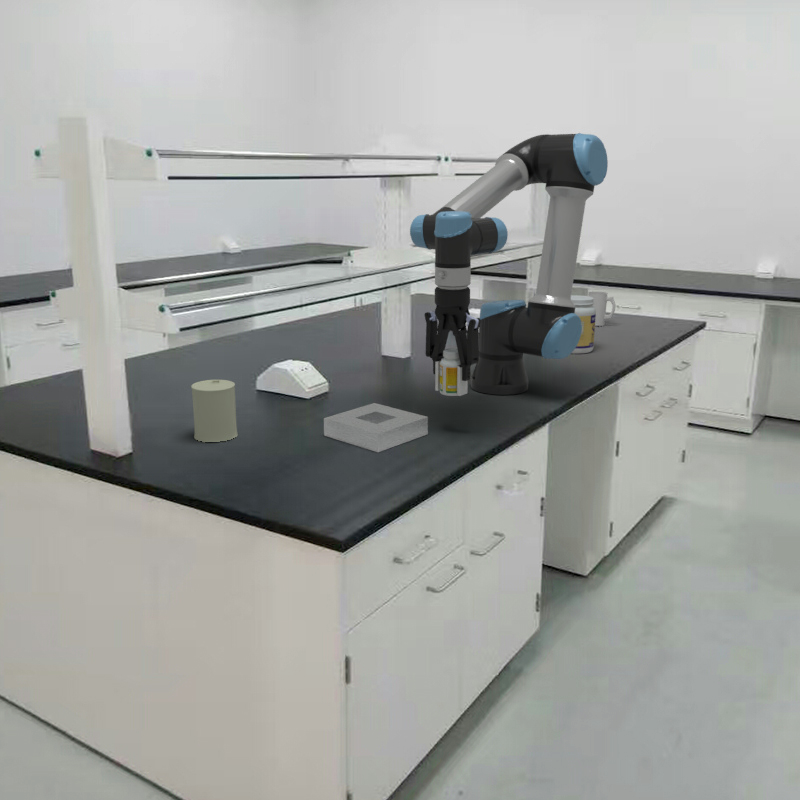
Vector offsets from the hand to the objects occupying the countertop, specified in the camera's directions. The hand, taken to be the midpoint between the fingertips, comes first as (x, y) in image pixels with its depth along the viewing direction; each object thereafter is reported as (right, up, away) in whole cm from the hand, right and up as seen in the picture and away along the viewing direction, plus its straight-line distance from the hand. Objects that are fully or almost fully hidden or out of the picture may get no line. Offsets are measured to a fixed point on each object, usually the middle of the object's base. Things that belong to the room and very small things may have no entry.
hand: (451, 391), depth 183 cm
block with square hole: (-16, -10, -1) cm, 19 cm away
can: (-51, -10, -2) cm, 52 cm away
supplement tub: (+44, +14, +83) cm, 95 cm away
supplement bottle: (0, -1, 0) cm, 1 cm away
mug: (+62, +25, +122) cm, 140 cm away
